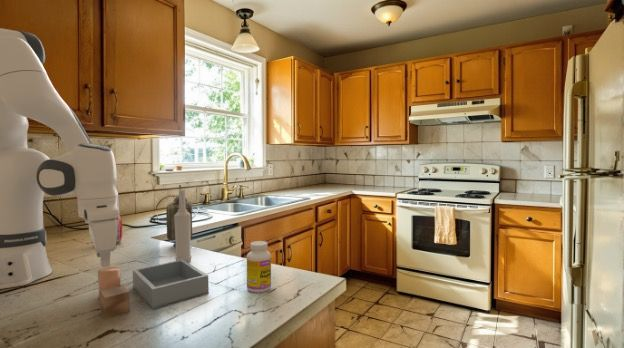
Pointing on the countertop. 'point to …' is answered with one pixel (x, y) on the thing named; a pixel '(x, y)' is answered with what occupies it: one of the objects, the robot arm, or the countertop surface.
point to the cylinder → (108, 278)
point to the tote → (169, 283)
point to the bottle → (182, 230)
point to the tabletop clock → (170, 213)
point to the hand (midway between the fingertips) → (103, 260)
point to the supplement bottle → (258, 267)
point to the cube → (114, 301)
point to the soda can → (119, 230)
